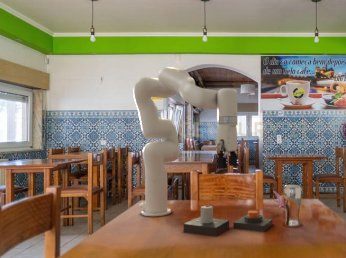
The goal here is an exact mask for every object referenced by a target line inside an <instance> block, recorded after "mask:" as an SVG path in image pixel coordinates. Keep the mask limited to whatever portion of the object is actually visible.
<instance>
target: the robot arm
mask: <svg viewBox="0 0 346 258" xmlns="http://www.w3.org/2000/svg"><path fill="white" fill-rule="evenodd" d="M132 91H133V92H132V95H133V100H134V103H135V105H136V109H137V112H138V118H139V122H140V128H141V133H142V136H143V138H145V139H147V140H157V141H150V142H148V143H146V144H145V145H144V146H143V148H142V158H143V163H144V181H145V182H144V187H145V188H144V202H140V204H139V205H138V208H140V209H142V211H141V216H144V217H163V216H167V215H170V214H171V213H172V209H171V208H169V207H168V170H167V168H166V165H165V163H170V162H171V163H172V162H175V161H177V160H178V159H179V158H180V156H181V147H180V142H179V141H180V140H179V137H178V132H177V127H176V125H175V123H174V122H173V121H172V120H171V119H169V118H163V117H160V114H159V109H158V106H157V105H156V103H155V102H154V100H153V99H152V98H157V99H158V98H159V99H168V98H171V97H172V96H174V95H176V94H178V95H180V98H181V99H182V100H183V101H184V102H186V103H187V104H189V105H191V106H193V107H195V108H198V109H203V110H204V109H205V110H217V128H216V135H215V137H216V138H215V144H216V145H215V150H216V153H217V168H218V169H225V170H226V169H227V168H228V166H230V167H237V166H238V151H239V149H238V148H239V143H238V129H237V126H238V91H237V89H235V88H220V89H218V90H215V89H211V88H202V87H200V86H198V85H196V81H195V79H194V78H193V77H192V76H191V75H190V74H189V72H188V71H186V70H184V69H181V68H176V67H171V66H167V67H163V68H162V69H160V70H159V72H158V74H157V77H151V76H150V77H148V76H144V77H141V78H138V79H137V80H136V81H135V83H134V85H133V89H132ZM158 140H160V141H158ZM228 153H229V155H228V159H227V154H228ZM227 163H228V164H229V165H228V164H227Z"/></svg>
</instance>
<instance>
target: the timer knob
mask: <svg viewBox="0 0 346 258" xmlns="http://www.w3.org/2000/svg"><path fill="white" fill-rule="evenodd" d="M200 217H201V223H212V222H213V218H214V206H212V205H211V204H208V205H207V204H206V205H202V206H200Z"/></svg>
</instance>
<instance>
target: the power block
mask: <svg viewBox="0 0 346 258" xmlns="http://www.w3.org/2000/svg"><path fill="white" fill-rule="evenodd" d="M272 226H273V219H272V218H266V217H265V218H264V216H263V215H262V214H259V217H256V218H251V217H248V213H247V214H245V215H243V216H242V217H240V218H239V219H237V220H235V221H234V222H233V229H237V230H246V231H254V232H263V233H264V232H266V231H267V230H268V229H269V228H270V227H272Z"/></svg>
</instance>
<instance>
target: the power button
mask: <svg viewBox="0 0 346 258" xmlns="http://www.w3.org/2000/svg"><path fill="white" fill-rule="evenodd" d="M259 213H260V212H259V211H258V210H248V211H247V214H248V217H251V218H256V217H259V215H260V214H259Z"/></svg>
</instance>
